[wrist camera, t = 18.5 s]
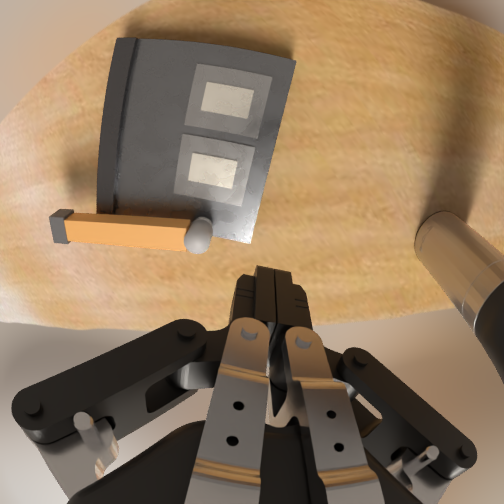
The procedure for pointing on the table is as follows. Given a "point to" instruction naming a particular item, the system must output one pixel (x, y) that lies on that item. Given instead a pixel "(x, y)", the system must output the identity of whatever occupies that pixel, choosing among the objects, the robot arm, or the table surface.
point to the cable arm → (131, 231)
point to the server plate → (190, 132)
